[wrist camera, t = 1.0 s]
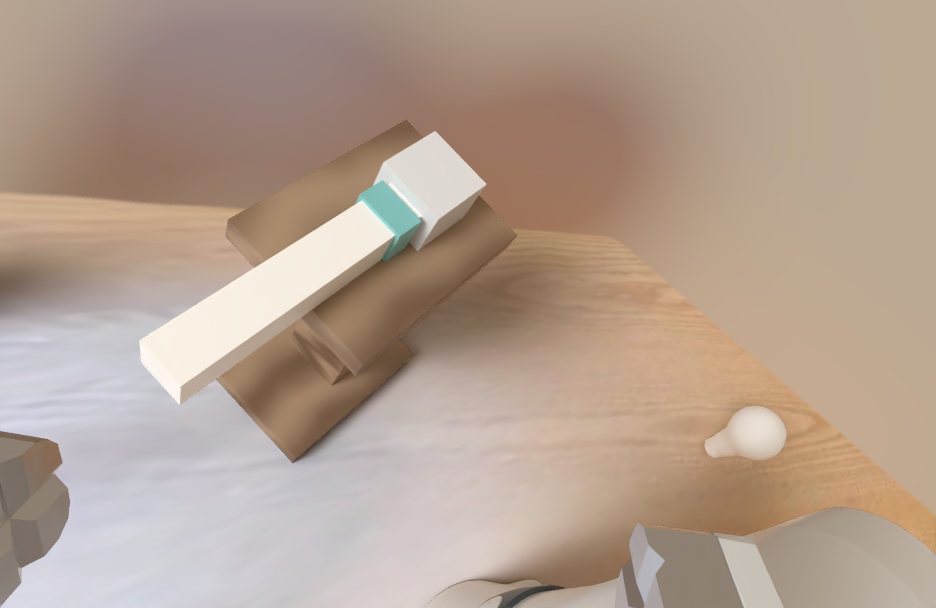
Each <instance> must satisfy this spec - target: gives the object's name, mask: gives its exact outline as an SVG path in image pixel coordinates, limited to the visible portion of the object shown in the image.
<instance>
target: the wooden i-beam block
mask: <svg viewBox="0 0 936 608" xmlns="http://www.w3.org/2000/svg"><path fill="white" fill-rule="evenodd" d="M421 139H423V137H422V136H421V135H420V134H419V133H418V132H417V131H416V130H415V129H414V127H413V126H412V125H411V124H410V123H409V122H408V121H407V120H405V121H403V122H401V123H400V124H398V125H396V126H394V127H393V128H391V129H389V130H387V131H386V132H384V133H382V134H380V135H378V136H377V137H375V138H373V139H371V140H369V141H367V142H366V143H364V144H362V145H360V146H359V147H357V148H355V149H353V150H351V151H350V152H348V153H346V154H344V155H342V156H341V157H339V158H337V159H336V160H334V161H332V162H330V163H328V164H326V165H325V166H323V167H321V168H319V169H317V170H316V171H314V172H312V173H310V174H309V175H307V176H305V177H303V178H301V179H299V180H298V181H296V182H294V183H292V184H291V185H289V186H287V187H285V188H283V189H282V190H280V191H278V192H276V193H274V194H273V195H271V196H269V197H267V198H266V199H264V200H262V201H260V202H258V203H256V204H255V205H253V206H251V207H249V208H248V209H246V210H244V211H242V212H240V213H239V214H237V215H235V216H233V217H231V218H230V219H228V223H227V230H226V238H227V239H228V240H229V241H230V242H231V243H232V244H233V245H234V246H235V247H236V248H237V249H238V250H239V252H240V253H241V254H242V255H243V256H244V257H245V258H246V259H247V260H248V261H249V262H250V263H251V264H252V266H253V267H254V268H255V267H257V266H258V265H260V264H262V263H263V262H265V261H266V260H268V259H270V258H271V257H273V256H274V255H276V254H277V253H279V252H281V251H282V250H284V249H285V248H287V247H289V246H290V245H292V244H293V243H295V242H297V241H298V240H300V239H301V238H303V237H304V236H306V235H308V234H309V233H311V232H312V231H314V230H316V229H317V228H319V227H320V226H322V225H324V224H325V223H327V222H328V221H330V220H331V219H333V218H335V217H336V216H338V215H339V214H341V213H343V212H344V211H346V210H347V209H349V208H351V207H352V206H354V205H355V204H356V202H357V199H358V197H359V195H360V194H361V193H362V192H364V191H366V190H367V189H369V188H370V187H372V186H373V184H374V182H375V180H376V177H377V175H378V173H379V171H380V169H381V166H382V164H383V162H384V161H386V160H388V159H389V158H391V157H393V156H394V155H396V154H398V153H399V152H401V151H403V150H404V149H406V148H408V147H409V146H411V145H413V144H414V143H416V142H418V141H419V140H421ZM516 236H517V234H516V233H515V232H514V231H513V230H512V229H511V228H510V227H509V226H508V225H507V224H506V223H505V222H504V221H503V220H502V219H501V218H500V217H499V216H498V215H497V214H496V213H495V211H494V210H493V209H492V208H490V206H489V205H488V204H487V203H486V202H485V201H484V200H483V199H482V198H481V197H480V196H478V197H477V199H476V200H475V202H474V203H473V204H472V206H471V207H470V209H469V210H468V212H467V213H466V214H465V216H464V217H463V218H462V219H460V220H459V221H458V222H456V223H455V224H454V225H452V226H451V227H450V228H448V229H447V230H446V231H444V232H443V233H442V234H440V235H439V236H438V237H436V238H435V239H434V240H432V241H431V242H429V243H428V244H427V245H425V246H424V247H423V248H421V249H420V250H419V251H417V250H416V249H415V248H414V247H413V246H412V245H411V244H410V243H408V244H407V246H406V248H404V249H403V250H401V251H400V252H399V253H397V254H396V255H395V256H393V257H392V258H390V259H389V260H388V261H386V262H384V261H383V260H382V259H381V260H380V261H379V262H377V263H376V264H374V265H373V266H372V267H370V268H369V269H368V270H366V271H365V272H363V273H362V274H361V275H359V276H358V277H356V278H355V279H354V280H352V281H351V282H350V283H348V284H347V285H345V286H344V287H343V288H341V289H340V290H339V291H337V292H336V293H334V294H333V295H332V296H330V297H329V298H327V299H326V300H325V301H323V302H322V303H321V304H319V305H318V306H316V307H315V308H314V309H312V310H311V311H309V312H308V313H307V314H305V315H304V316H303V317H301V318H300V319H298V320H297V321H296V322H294V323H293V324H291V325H290V326H289V327H287V328H286V329H285V330H283V331H282V332H280V333H279V334H278V335H276V336H275V337H273V338H272V339H271V340H269V341H268V342H267V343H265V344H264V345H262V346H261V347H260V348H258V349H257V350H255V351H254V352H253V353H251V354H250V355H249V356H247V357H246V358H244V359H243V360H242V361H240V362H239V363H237V364H236V365H235V366H233V367H232V368H231V369H229V370H228V371H226V372H225V373H224V374H222V375H221V376H220V377H218V378H217V379H216V380H217V381H218V382H219V383H220V384H221V385H222V386H223V387H224V388H225V389H226V391H227V392H228V393H229V394H230V395H231V396H232V397H233V398H234V399H235V400H236V402H237V403H238V404H239V405H240V406H241V407H242V408H243V409H244V410H245V411H246V412H247V414H248V415H249V416H250V417H251V418H252V419H253V420H254V421H255V422H256V423H257V425H258V426H259V427H260V428H261V429H262V430H263V431H264V432H265V433H266V434H267V435H268V437H269V438H270V439H271V440H272V441H273V442H274V443H275V444H276V445H277V446H278V448H279V449H280V450H281V451H282V452H283V453H284V454H285V455H286V456H287V457H288V459H289V460H290V461H291V462H292V463H293V462H294V461H296V460H297V459H298V458H299V457H300V456H301V455H302V454H303V453H305V452H306V451H307V450H308V449H309V448H310V447H311V446H313V445H314V444H315V443H316V442H317V441H318V440H319V439H320V438H322V437H323V436H324V435H325V434H326V433H327V432H328V431H329V430H331V429H332V428H333V427H334V426H335V425H336V424H337V423H338V422H340V421H341V420H342V419H343V418H344V417H345V416H346V415H348V414H349V413H350V412H351V411H352V410H353V409H354V408H355V407H357V406H358V405H359V404H360V403H361V402H362V401H363V400H364V399H366V398H367V397H368V396H369V395H370V394H371V393H372V392H373V391H375V390H376V389H377V388H378V387H379V386H380V385H381V384H383V383H384V382H385V381H386V380H387V379H388V378H389V377H390V376H392V375H393V374H394V373H395V372H396V371H397V370H398V369H399V368H401V367H402V366H403V365H404V364H405V363H406V362H407V361H408V360H409V359H410V358H411V357H412V356H413V355H414V353H413V352H412V351H411V350H410V349H409V348H408V347H407V346H406V345H405V344H404V343H403V342H402V340H401V339H400V338H401V337H402V336H403V335H404V334H405V333H407V332H408V331H409V330H410V329H411V328H413V327H414V326H415V325H416V324H417V323H418V322H420V321H421V320H422V319H423V318H424V317H426V316H427V315H428V314H429V313H430V312H432V311H433V310H434V309H435V308H436V307H437V306H439V305H440V304H441V303H442V302H443V301H445V300H446V299H447V298H448V297H449V296H450V295H452V294H453V293H454V292H455V291H456V290H458V289H459V288H460V287H461V286H462V285H463V284H465V283H466V282H467V281H468V280H469V279H471V278H472V277H473V276H474V275H475V274H476V273H478V272H479V271H480V270H481V269H482V268H484V267H485V266H486V265H487V264H488V263H489V262H491V261H492V260H493V259H494V258H495V257H497V256H498V255H499V254H500V253H501V252H502V251H504V250H505V249H506V248H507V247H508V246H509V244H510V243H511V242H512V241H513V240H514V239H515V237H516Z"/></svg>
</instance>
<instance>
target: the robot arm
mask: <svg viewBox="0 0 936 608" xmlns="http://www.w3.org/2000/svg"><path fill="white" fill-rule="evenodd" d="M61 464H62V459H61V455H60V451H59V447H58V444H57V443H55V442H52V441H50V440H48V439H44V438H38V437H32V436H26V435H20V434H14V433H8V432H2V431H0V606H1V605H2V604H3V603H4V602H5V601H6V600H7V598H8V597H9V596H10V595H11V594H12V593H13V592H14V590H15V589H16V588H17V587H18V586H19V585H20V584H21V574H22V567H24V566H26V565H28V564H30V563H32V562H34V561H36V560H38V559H40V558H42V557H44V556H45V555H46V554H47V552H48V551H49V550H50V549H51V548H52V546H53V545H54V544H55V543H56V542H57V540H58V539H59V537H60V535H61V533H62V531H63V528H64V526H65V524H66V522H67V519H68V515H69V506H70V499H69V494H68V488H67V487H66V486H65V485H64V484H63V483H62V482H61V480H60V479H59V478H58V477H57V476H56V475H55V472H56V471H57V470H58V468H59V467H60V466H61ZM629 548H630V553H631V558H632V561H630V562H629V563H627V564H626V565H625V566H623V567H622V568H621V572H620V575H619V577H618V578H616V579H613V580H610V581H607V582H603V583H600V584H595V585H590V586H582V587H575V588H564V587H560V586H552V585H541V583H539V582H538V581H536V580H521V581H517V582H514V583H511V584H499V583H494V582H489V581H481V580H475V581H466V582H462V583H459V584H456V585H454V586H451V587H450V588H448V589H446V590H444V591H443V592H441V593H440V594H439V595H437V596H436V597H435V598H434V599H433V600H432V601H431V602H430V603H429V604H428V605H427V606H426V608H936V554H935V553H934V552H933V551H932V550H931V549H929V548H928V547H927V546H926V545H925V544H924V543H923V542H921V541H920V540H919V539H918V538H916V537H915V536H914V535H912V534H911V533H909V532H908V531H906V530H905V529H903V528H902V527H900V526H898V525H897V524H895V523H893V522H891V521H889V520H887V519H885V518H883V517H880V516H878V515H875V514H872V513H869V512H866V511H862V510H858V509H853V508H844V507H834V508H826V509H822V510H818V511H815V512H812V513H809V514H806V515H803V516H800V517H797V518H794V519H791V520H788V521H786V522H783V523H780V524H778V525H775V526H772V527H769V528H767V529H764V530H761V531H758V532H755V533H752V534H749V535H745V536H738V535H730V534H722V533H714V532H711V533H708V532H702V531H694V530H687V529H680V528H672V527H665V526H657V525H650V524H642V523H638V524H637V525H636V527H635V528H634V529H633V532H632V535H631V538H630V541H629Z"/></svg>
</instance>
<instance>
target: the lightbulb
mask: <svg viewBox="0 0 936 608" xmlns="http://www.w3.org/2000/svg"><path fill="white" fill-rule="evenodd" d="M786 438H787V432H786V428H785V425H784V423H783V421H782V419H781V418H780V417H779V416H778V415H777V414H776V413H775V412H773V411H772V410H770V409H768V408H765V407H762V406H747V407H744V408H742V409H740V410H739V411H737V412H736V413H735V414H734V415H733V416H732V418H731V419H730V421H729V423H728V425H727V426H726V427H725V428H724V429H723V430H721V431H719V432H717V433H716V435H714V436H712V437H710V438H708V439H706V441H705V444H704V447H705V451H706V452H707V454H708V455H709V456H711V457H712V458H719V457H723V456H727V457H730V456H736V455H739V456H743V457H746V458H749V459H753V460H767V459H770V458H772V457H774V456H776V455H777V454H778V453H779V452H780V451H781V450H782V449H783V447H784V445H785V442H786Z"/></svg>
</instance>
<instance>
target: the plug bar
mask: <svg viewBox="0 0 936 608" xmlns="http://www.w3.org/2000/svg"><path fill="white" fill-rule="evenodd" d="M485 186H486V183H485V182H484V181H483V180H482V179H481V178H480V177H479V176H478V175H477V174H476V173H475V172H474V171H473V170H472V169H471V168H470V167H469V166H468V165H467V164H466V163H465V162H464V161H463V159H462V158H461V157H460V156H459V155H458V154H457V153H456V152H455V151H454V150H453V149H452V148H451V147H450V146H449V145H448V144H447V143H446V142H445V141H444V140H443V139H442V138H441V137H440V136H439V135H438V134H437V133H436V132H433V133H431V134H430V135H428V136H426V137H425V138H423V139H421V140H419V141H418V142H416V143H414V144H413V145H411V146H409V147H408V148H406V149H404V150H403V151H401V152H399V153H398V154H396V155H394V156H393V157H391V158H389V159H388V160H386V161H384V162H383V164H382V166H381V169H380V171H379V173H378V175H377V177H376V180H375V182H374V184H373V186H372V187H370V188H369V189H367V190H366V191H364V192H362V193H361V194H360V195H359V197H358V199H357V202H356V204H355V205H354V206H352V207H351V208H349V209H347V210H346V211H344V212H343V213H341V214H339V215H338V216H336V217H335V218H333V219H331V220H330V221H328V222H327V223H325V224H324V225H322V226H320V227H319V228H317V229H316V230H314V231H312V232H311V233H309V234H308V235H306V236H304V237H303V238H301V239H300V240H298V241H297V242H295V243H293V244H292V245H290V246H289V247H287V248H285V249H284V250H282V251H281V252H279V253H277V254H276V255H274V256H273V257H271V258H270V259H268V260H266V261H265V262H263V263H262V264H260V265H258V266H257V267H255V268H254V269H252V270H250V271H249V272H247V273H246V274H244V275H243V276H241V277H239V278H238V279H236V280H235V281H233V282H231V283H230V284H228V285H227V286H225V287H223V288H222V289H220V290H219V291H217V292H216V293H214V294H212V295H211V296H209V297H208V298H206V299H204V300H203V301H201V302H200V303H198V304H196V305H195V306H193V307H192V308H190V309H189V310H187V311H185V312H184V313H182V314H181V315H179V316H177V317H176V318H174V319H173V320H171V321H169V322H168V323H166V324H165V325H163V326H161V327H160V328H158V329H157V330H155V331H154V332H152V333H150V334H149V335H147V336H146V337H144V338H142V339H141V340H139V344H140V354H141V363H142V364H143V365H144V366H145V367H146V368H147V370H148V371H149V372H150V373H151V374H152V375H153V376H154V377H155V378H156V379H157V381H158V382H159V383H160V384H161V385H162V386H163V387H164V388H165V389H166V391H167V392H168V393H169V394H170V395H171V396H172V397H173V398H174V399H175V400H176V402H177V403H178V404H179V405H181V404H182V403H184V402H185V401H186V400H188V399H189V398H190V397H192V396H193V395H195V394H196V393H197V392H199V391H200V390H202V389H203V388H204V387H206V386H207V385H208V384H210V383H211V382H213V381H214V380H215V379H217V378H218V377H220V376H221V375H222V374H224V373H225V372H226V371H228V370H229V369H231V368H232V367H233V366H235V365H236V364H237V363H239V362H240V361H242V360H243V359H244V358H246V357H247V356H249V355H250V354H251V353H253V352H254V351H255V350H257V349H258V348H260V347H261V346H262V345H264V344H265V343H267V342H268V341H269V340H271V339H272V338H273V337H275V336H276V335H278V334H279V333H280V332H282V331H283V330H285V329H286V328H287V327H289V326H290V325H291V324H293V323H294V322H296V321H297V320H298V319H300V318H301V317H303V316H304V315H305V314H307V313H308V312H309V311H311V310H312V309H314V308H315V307H316V306H318V305H319V304H321V303H322V302H323V301H325V300H326V299H327V298H329V297H330V296H332V295H333V294H334V293H336V292H337V291H339V290H340V289H341V288H343V287H344V286H345V285H347V284H348V283H350V282H351V281H352V280H354V279H355V278H356V277H358V276H359V275H361V274H362V273H363V272H365V271H366V270H368V269H369V268H370V267H372V266H373V265H374V264H376V263H377V262H379V261H380V260H381V259H382V260H383V261H384V262H386V261H388V260H389V259H390V258H392V257H393V256H395V255H396V254H397V253H399V252H400V251H401V250H403V249H404V248H406V246H407V244H408V243H410V244H411V245H412V246H413V247H414V248H415V249H416V250H417V251H419V250H420V249H421V248H423V247H424V246H425V245H427V244H428V243H429V242H431V241H432V240H434V239H435V238H436V237H438V236H439V235H440V234H442V233H443V232H444V231H446V230H447V229H448V228H450V227H451V226H452V225H454V224H455V223H456V222H458V221H459V220H460V219H462V218H463V217H464V216H465V214H466V213H467V212H468V210H469V209H470V207H471V206H472V204H473V203H474V202H475V200H476V199H477V197H478V196H479V195H480V193H481V192H482V190H483V189H484V187H485Z"/></svg>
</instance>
